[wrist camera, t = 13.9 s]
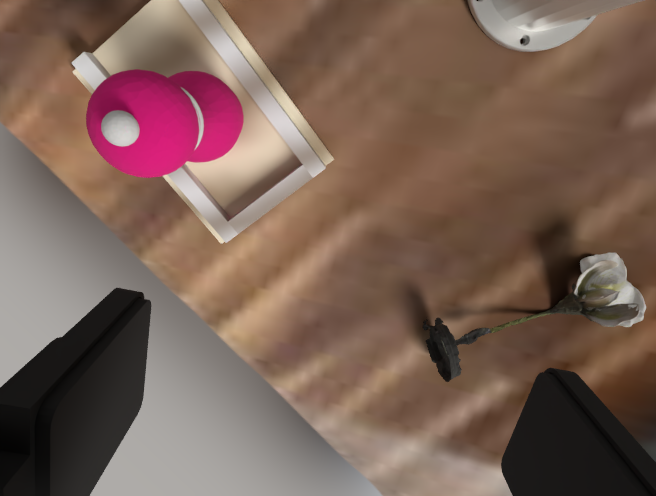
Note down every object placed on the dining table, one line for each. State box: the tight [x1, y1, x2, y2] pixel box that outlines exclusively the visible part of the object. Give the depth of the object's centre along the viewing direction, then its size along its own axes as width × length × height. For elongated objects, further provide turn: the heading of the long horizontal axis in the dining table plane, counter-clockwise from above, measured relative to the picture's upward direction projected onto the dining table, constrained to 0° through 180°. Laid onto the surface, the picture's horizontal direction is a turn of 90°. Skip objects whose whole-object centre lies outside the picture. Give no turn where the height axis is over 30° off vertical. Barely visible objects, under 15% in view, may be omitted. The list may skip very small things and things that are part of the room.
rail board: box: [72, 0, 334, 244], centre depth 41 cm, size 20×14×2 cm
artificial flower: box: [423, 253, 646, 382], centre depth 45 cm, size 9×22×10 cm, turn 105°
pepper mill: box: [86, 69, 244, 178], centre depth 31 cm, size 7×7×20 cm
